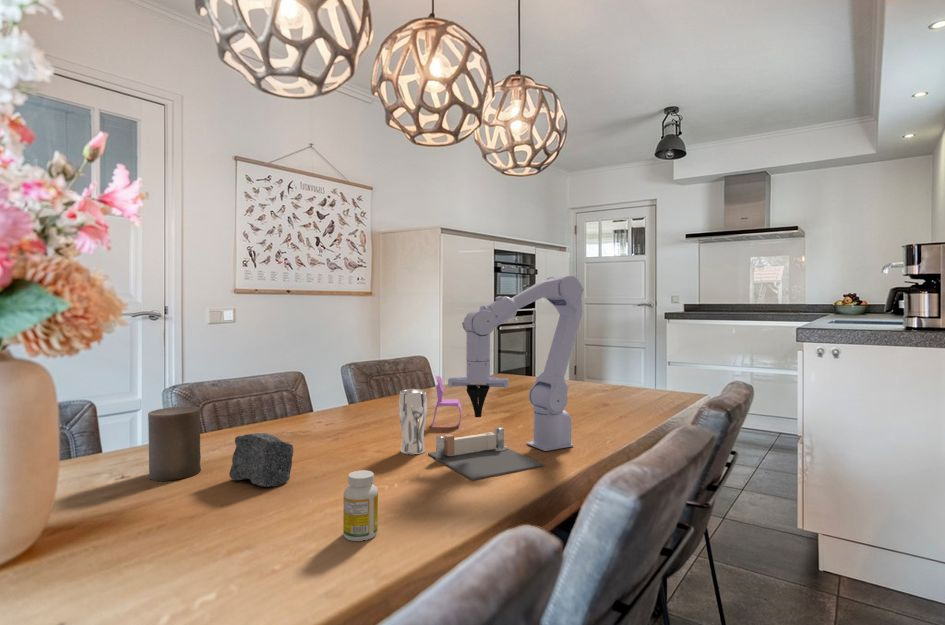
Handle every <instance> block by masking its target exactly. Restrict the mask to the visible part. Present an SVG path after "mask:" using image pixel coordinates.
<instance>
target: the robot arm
mask: <svg viewBox="0 0 945 625" xmlns="http://www.w3.org/2000/svg"><path fill="white" fill-rule="evenodd" d="M584 291H585V290H584V287H583V285H582V283H581V282H580V280H579V279H578V277H576V276H574V275H572V274H571V275H566V276H556V277H555V276H550V277H547V278H546V279H543V280H539V281H538V282H536V283H535V284H533V285H531V286H529V287H528V288H525V289H524V290H523V291H521V292H520V293H517V294H516V295H514V296H513V297H510V296H506V295H504V296H502V295H499V296H496V297H495V301H492V302H491V303H489V304H487V305H485V304H483V305H481V306H479V310H472V311H470V312H467V314H466V316H465V317H464V319H463V321H462V323H461V324H462V328H463V330H464V331H465V332H466V342H465V343H466V347H465V348H466V349H465V350H466V353H465V354H466V376H463V377H459V376H458V377H448V379H447V387H451V388H452V387H466V392H467V395H468V397H469V399H470V402H471V405H472V408H473V412H474V418H482V413H483V407H484V404H485V401H486V397H487V395H488V392H489V390H490V388H506V389H507V388H509V378H503V377H501V378H500V377H491V333H492V332H493V331H494V330H495V328H496V327H498V326H500V325H502V324H504V323H505V322H508V321H509V320H511V319H513V318H515V317H516V315H517V312H518V310H520V309H522V308H524V307H526V306H528V305H529V304H532V303H535V302H536V301H538V300H540V299H543V298H544V299H546V301H548V302H549V303H550V304H551V305H552V306H553V307H554V308H555V309H556V311H557V313H558V314H559V317H558V321H557V323H556V324H557V325H556V327H555V331H554V334H553V338H552V341H551V345H550V349H549V352H548V355H547V360H546V362H545V366H544V370H543V372H542V373H540V374H539V375H538V376H537V377H536V379H535V381H534V384H533V385H532V387H531V388H530V390H529V392H528V400H529V402H530V404H531V405H532V410H533V440H531V441H527V442H526V445H529V446H531V447H533V448H535V449H539V450H541V451H543V452H548V451H554V450H559V449H565V448H570V447H574V444H573V443H572V418H571V416H570V413H569V412H568V411H566V410H565V408H566V407H567V405H568V402H569V401H568V398H569V397H568V390H569V385H568V383H567V380H566V377H565V376H566V372H567V369H568V365H569V362H570V358H571V355H572V351H573V347H574V344H575V340H576V337H577V333H578V330H579V327H580V324H581V323H580V322H581V319H582V316H583V303H582V302H583V301H582V296H583V295H584V294H583V292H584Z"/></svg>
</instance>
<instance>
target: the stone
mask: <svg viewBox="0 0 945 625" xmlns="http://www.w3.org/2000/svg"><path fill="white" fill-rule="evenodd" d="M234 443H235V449H234V452H233V455H232V457H231V458H232V459H231V463H232V465H231V467H230V471H229V474H228V475H229V478H230V479H232V480H233V481H242V480H250V482H251V483H252V484H253V485H257V486H259V487H262V488H263V487H265V488H266V487H267V488H269V487H276V486H282V485H283V484H285V483H287V482H288V481H290V478H291V477H290V476H291V471H292V470H291V469H292V465H293V457H294V445H293V444H292V443H290V442H286V441H284V440H282V439H280V438H279V437H276V436H275V435H273V434H269V433H266V432H260V433H259V432H257V433H247V434H243V435H237V436H236V437H235V438H234ZM281 484H282V485H281Z"/></svg>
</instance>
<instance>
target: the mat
mask: <svg viewBox="0 0 945 625" xmlns="http://www.w3.org/2000/svg"><path fill="white" fill-rule="evenodd" d="M428 456H429V457H431V458H432V459H435V460H436V451H432V452H428ZM440 462H441V463H442V464H443V465H445V466H447V467H449V468H450V469H452V470H454V471H456V472H458V473H459V474H461V475H462V476H464V477H466V478H468V479H469V480H471V481H476V480H482V479H485V478H491V477H497V476H500V475H501V476H502V475H506V474H510V473H511V472H512V473H517V472H521V471H526V470H532V469H536V468H537V469H538V468H542V467H545V465H546V464H545V463H543V462H540V461H538V460H536V459H533V458H531V457H529V456H526V455H524V454H521V453H519V452H517V451H515V450H512V449H511V448H508V450H506V451H493V450H491V449H490V450H487V449H486V450H480V451H474V452H468V453H462V454H456V455H450V456H445V459H443V460H440ZM440 462H439V463H440ZM541 466H542V467H541ZM531 468H532V469H531Z"/></svg>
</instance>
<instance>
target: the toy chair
mask: <svg viewBox="0 0 945 625" xmlns="http://www.w3.org/2000/svg"><path fill="white" fill-rule="evenodd" d="M435 378H436V382H437V384H436V385H435V388H436V394H437V396H436V397H437V402H436V405H435V408H434V414H433V418H432V419H433V420H432V422H431V427H434V424H435V422H436V421H435V420H436V415H437V409H438V407H446V406H447V407H457V408H458V410H459V421H458V425H457V428H458V429H460V425H461V422H462V421H461V419H462V405H461V402H460V398H459V399H458V398H455V399H454V398H453V399H449V398H448V399H446V398H443V395H444V391H445V388H444V384H443V379H442V377H441V376H440V375H436V376H435Z"/></svg>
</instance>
